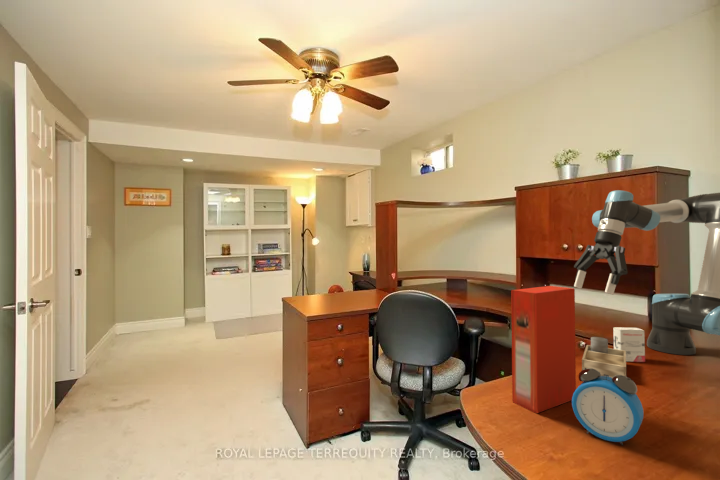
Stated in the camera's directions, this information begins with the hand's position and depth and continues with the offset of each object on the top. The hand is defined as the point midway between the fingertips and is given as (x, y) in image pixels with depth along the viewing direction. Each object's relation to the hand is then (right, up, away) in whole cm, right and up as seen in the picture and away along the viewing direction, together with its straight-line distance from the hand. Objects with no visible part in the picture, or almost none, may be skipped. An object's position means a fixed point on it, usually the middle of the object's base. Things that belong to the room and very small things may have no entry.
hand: (592, 290), depth 124 cm
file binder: (-29, -28, -23) cm, 47 cm away
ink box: (+20, -28, +9) cm, 36 cm away
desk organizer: (+4, -28, 0) cm, 28 cm away
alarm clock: (-24, -29, -41) cm, 56 cm away
